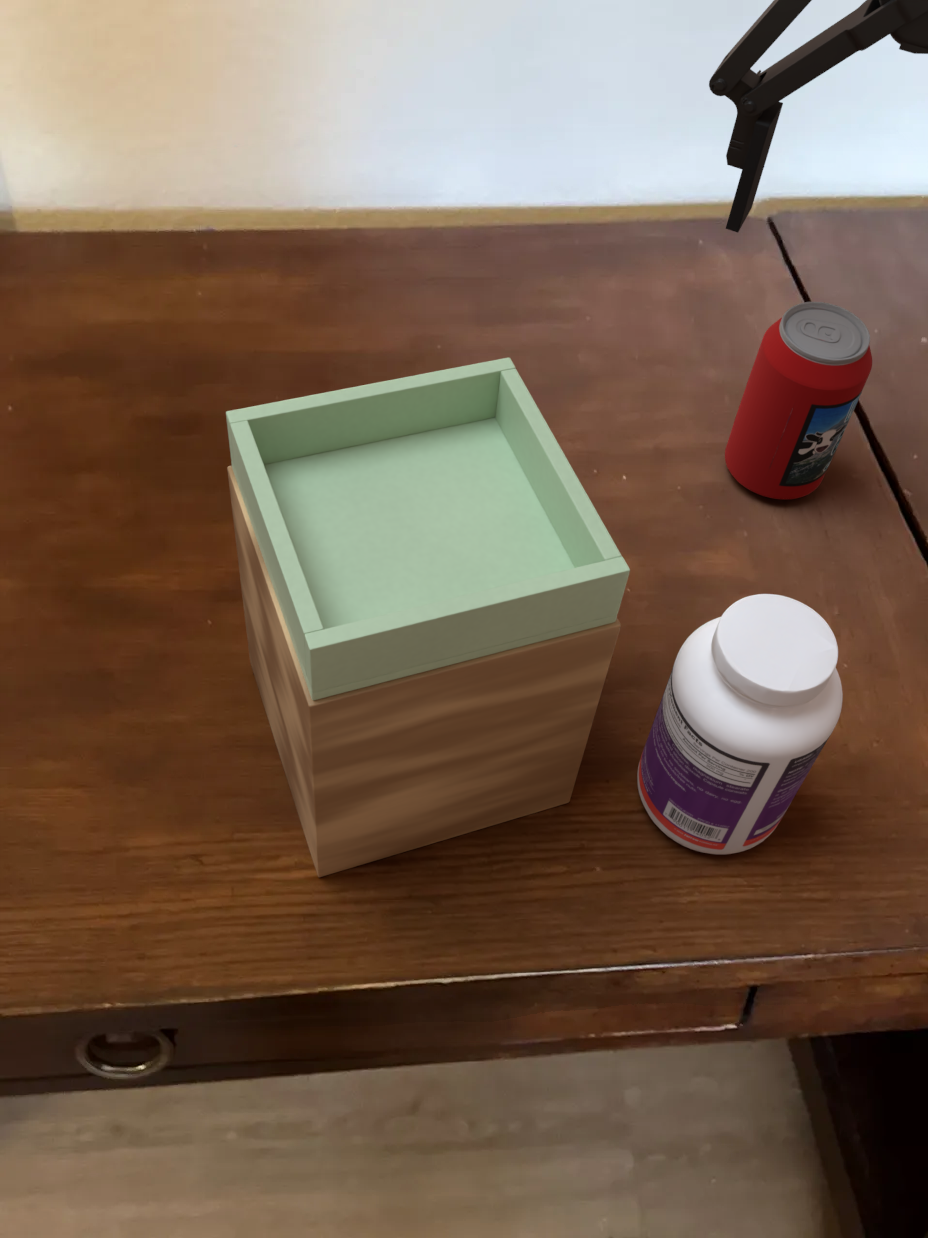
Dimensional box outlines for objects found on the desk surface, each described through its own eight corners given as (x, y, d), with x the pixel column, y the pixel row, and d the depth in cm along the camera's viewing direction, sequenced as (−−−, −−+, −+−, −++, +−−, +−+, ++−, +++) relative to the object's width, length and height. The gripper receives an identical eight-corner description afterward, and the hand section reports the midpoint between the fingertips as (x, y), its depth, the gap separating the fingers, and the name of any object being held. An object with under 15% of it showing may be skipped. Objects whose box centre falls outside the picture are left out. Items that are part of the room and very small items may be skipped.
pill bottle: (753, 725, 69) (832, 563, 58) (799, 852, 64) (896, 704, 53) (616, 740, 68) (669, 578, 56) (654, 871, 63) (720, 724, 52)
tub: (615, 622, 53) (630, 570, 50) (312, 701, 49) (309, 649, 46) (502, 412, 60) (509, 356, 57) (231, 468, 56) (225, 411, 54)
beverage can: (810, 520, 79) (872, 381, 70) (710, 488, 80) (758, 347, 71) (829, 453, 83) (890, 313, 74) (733, 424, 84) (782, 281, 75)
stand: (569, 803, 65) (621, 624, 53) (318, 878, 62) (308, 706, 49) (478, 606, 73) (504, 409, 60) (250, 662, 69) (226, 465, 57)
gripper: (1328, -123, 51) (1085, 289, 68) (761, -260, 56) (667, 156, 73) (1325, -52, 47) (1067, 368, 64) (712, -207, 52) (624, 221, 69)
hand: (853, 256), depth 68 cm, fingers open, 13 cm apart
